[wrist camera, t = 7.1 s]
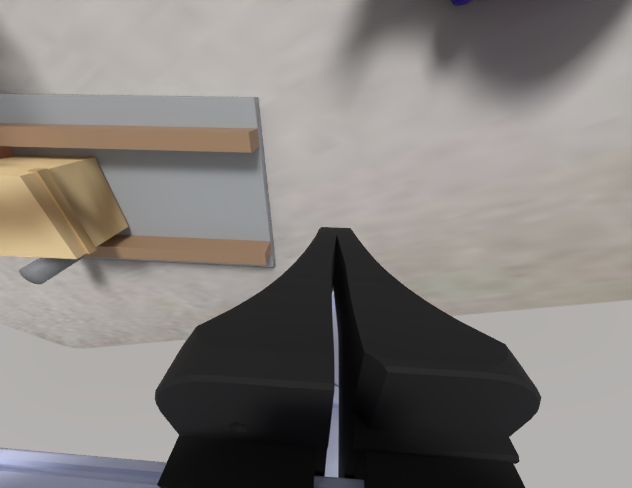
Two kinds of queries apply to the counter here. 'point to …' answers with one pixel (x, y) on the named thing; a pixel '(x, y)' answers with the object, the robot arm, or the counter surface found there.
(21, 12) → the counter surface
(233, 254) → the bay
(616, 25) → the counter surface
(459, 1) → the toy
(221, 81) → the counter surface
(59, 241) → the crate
